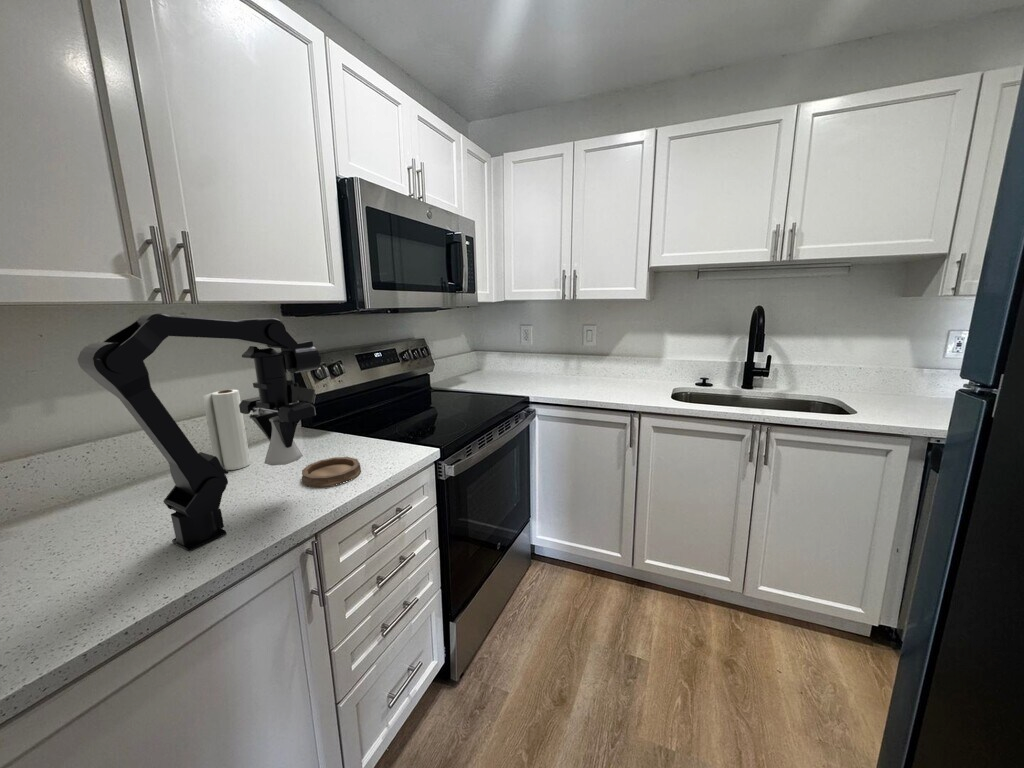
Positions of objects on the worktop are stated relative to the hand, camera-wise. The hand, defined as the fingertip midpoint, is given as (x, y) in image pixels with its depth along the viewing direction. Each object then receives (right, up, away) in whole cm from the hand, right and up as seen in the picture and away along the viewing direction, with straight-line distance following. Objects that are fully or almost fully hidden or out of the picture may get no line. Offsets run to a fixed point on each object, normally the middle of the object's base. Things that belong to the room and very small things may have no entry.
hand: (281, 445), depth 90 cm
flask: (0, -4, +1) cm, 4 cm away
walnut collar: (+5, -10, +15) cm, 18 cm away
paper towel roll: (-25, -9, +22) cm, 35 cm away
